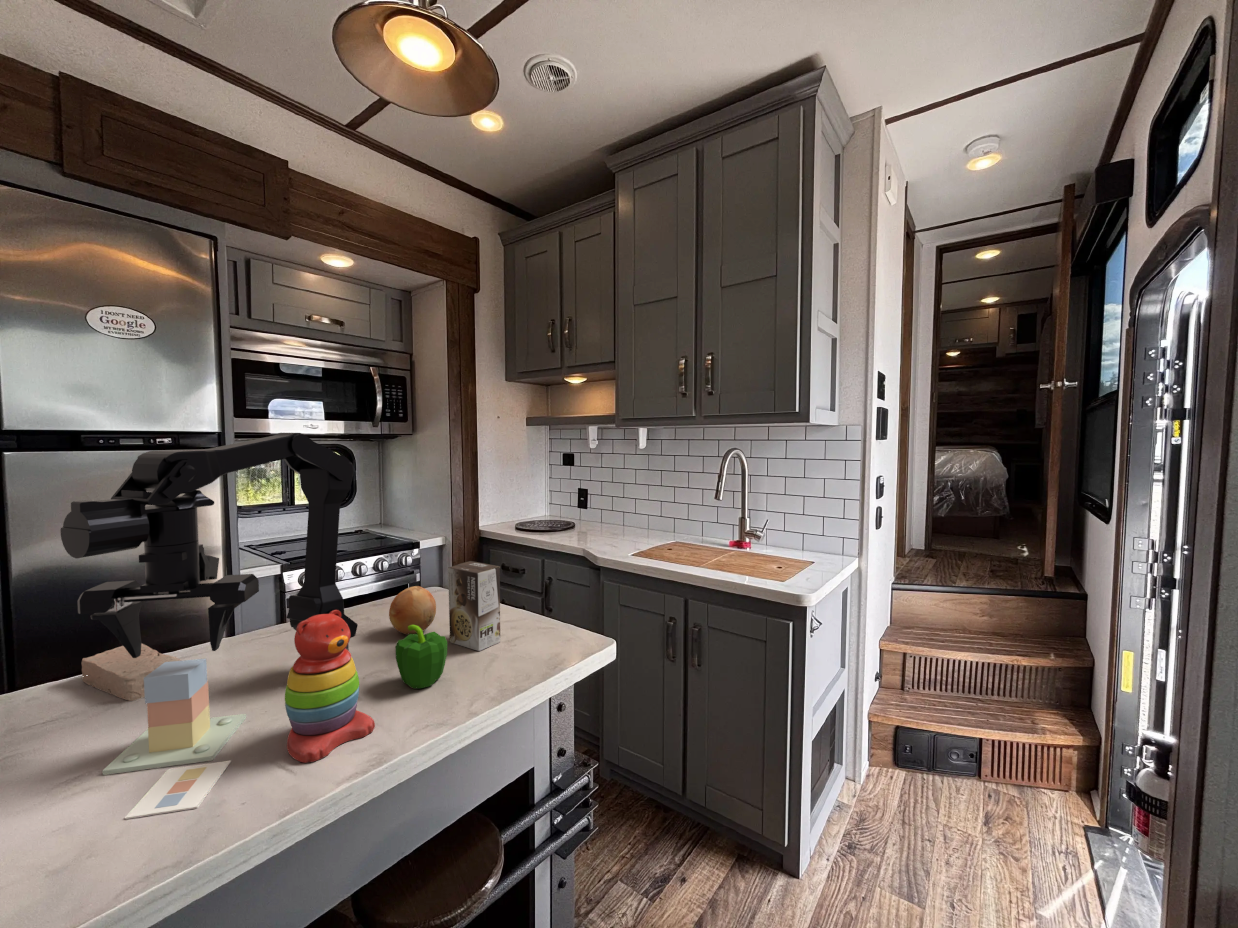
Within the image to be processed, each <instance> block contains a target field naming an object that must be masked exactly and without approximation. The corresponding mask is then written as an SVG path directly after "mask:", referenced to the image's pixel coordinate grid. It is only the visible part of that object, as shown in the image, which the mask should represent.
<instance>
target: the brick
mask: <svg viewBox="0 0 1238 928" xmlns="http://www.w3.org/2000/svg"><path fill="white" fill-rule="evenodd" d="M172 661H183V659H180V658H178V657H177V656H173V655H168V654H165V653H164V654H163V653H161V652H159V651H158V650H156V649H153V648H152V647H150V646H148V645H146V644H145V643H142V642H141V655H140V656H139V657H137V658H132V656H131V655H130V654H129V653H128V651H127V650H126V649H125V647H124V646H123V645H121V646H118V647H115V648H112V649H109V650H105V651H103V652H101V653H96V654H94V655H92V656H88V657H83V658H82V660H81V673H82V674H81V678H82V682H83V683H85V684H86V685H88V686H92V688H96V689H98V690H99V691H102V692H105V693H107V694H110V695H112V696H115V697H116V698H117V697H118V698H119V699H123V700H125V701H129V702H132V701H136V700H139V699H143V698H145V692H144V677H146V676H147V675H148V674H150V673H151V672H152V671H154V670H155V669H156V668H158V667H159V666H160V665H162V664H163V663H165V662H172ZM86 675H88V676H86ZM82 676H84V677H82Z"/></svg>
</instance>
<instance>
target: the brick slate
mask: <svg viewBox="0 0 1238 928" xmlns="http://www.w3.org/2000/svg"><path fill="white" fill-rule="evenodd" d="M182 660H183V659H182ZM207 671H208V670H207V658H197V659H186V660H183V661H172V662H165V663H163V664H162V665H160V666H159V667H158V668H156V669H155V670H154V671H152V672H151V673H150V674H148V675H147V676H146V677H144V692H145V697H144V704H147V703H155V702H164V701H174V700H183V699H190V698H191V697H192V696H193V695H194V694H195V693H196V692H197V691H198V690H199V689H200V688H201V687H202V686H203V685H205V684H206V683H207V681H208V673H207Z"/></svg>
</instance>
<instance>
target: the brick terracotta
mask: <svg viewBox="0 0 1238 928" xmlns="http://www.w3.org/2000/svg"><path fill="white" fill-rule="evenodd" d="M209 695H210V694H209V680H207V683H206V684H205V685H203V686H202V687H201V688H200V689H199V690H198V691H197V692H196V693H195V694H194V695H193V696H192V697H191V698H190V699H183V700H174V701H164V702H155V703H146V706H147V708H146V710H147V711H146V712H147V729H148V728H149V727H157V726H165V725H173V724H181V723H189V722H193V721H194V720H195V719H196V718H197V717H198V716H199V714H200V713H201V712H202V711H203V710H204V709H205V708H206V707H207V706H208V705H209V706H210V697H209Z"/></svg>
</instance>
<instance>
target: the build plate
mask: <svg viewBox="0 0 1238 928" xmlns="http://www.w3.org/2000/svg"><path fill="white" fill-rule="evenodd" d="M210 712H211V711H210V704H209V705H208V706H207V707H206V708H205V709H204V710H203V711H202V712H201V713H200V714H199V716H198V717H197V718H196V719H195V720H194V721H193V722H189V723H181V724H173V725H165V726H157V727H149V728H148V727H147V729H146V730H145V731H144V732H142V734H140V736H138V737H137V738H136V739H135V740H134V741H133V742H132V743H131V744H129V746H128V747H127V748H126V749H124V750H123V751H122V752H121V753H120V754H119V755H118V756H117V757H116V758H115V759H114V760H112V761H111V762H110V763H109V764H108V765H107V766H106V767H104V769H102V776H106V775H113V774H115V775H116V774H122V773H129V772H130V773H131V772H137V771H143V770H153V769H158V768H166V767H167V768H168V767H173V766H174V767H175V766H181V765H187V764H194V763H203V762H210V761H214V760H215V758H216V757H217V755H218V754H219V753H220V752H221V751H222V749H223V748H224V747H225V745H227V743H228V741H229V740H230V739H231V738H232V736H233V735H234V734H235V732H236V731H237V730H238V729H239V727H240V726H241V725H242V724H243V722H244V721H245V720H246V718H247V713H240V714H232V715H223V716H216V717H215V716H213V717H211V715H210V714H211V713H210Z"/></svg>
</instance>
